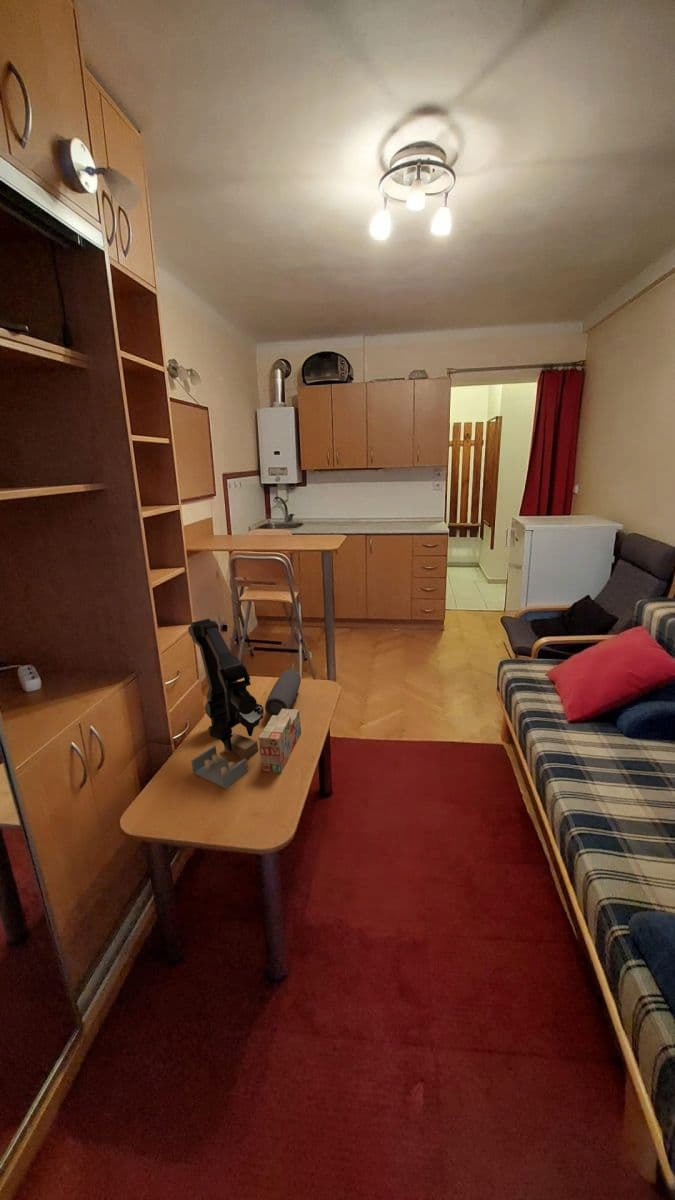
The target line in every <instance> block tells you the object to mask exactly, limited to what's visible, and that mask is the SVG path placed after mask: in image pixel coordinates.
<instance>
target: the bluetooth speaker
mask: <svg viewBox="0 0 675 1200" xmlns="http://www.w3.org/2000/svg"><path fill="white" fill-rule="evenodd" d="M301 681H302V679H301V676H300V674H299V672H297V671H296V670H293V669H286V670H284V671H283V672H282V673H281V675H280V676H279V677H278V678H277V680H276V682H275V683H274V685H273V687H272V689H271V690H270V692H269V694H268V695H267V699H266V700H265V706H264V710H265V713H266V714H267V715H268V716H269V717H270V718H271V717H272V715H276V716H278V714H279V713H280V711H281V709H291V707H292V705H293V704H294V702H295V700H296V697H297V694H298V692H299V690H300V689H299V688H300V686H301V683H302V682H301Z"/></svg>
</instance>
